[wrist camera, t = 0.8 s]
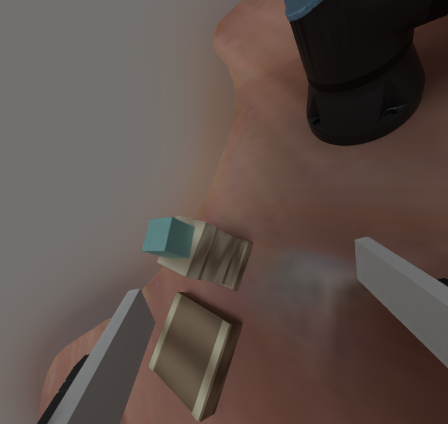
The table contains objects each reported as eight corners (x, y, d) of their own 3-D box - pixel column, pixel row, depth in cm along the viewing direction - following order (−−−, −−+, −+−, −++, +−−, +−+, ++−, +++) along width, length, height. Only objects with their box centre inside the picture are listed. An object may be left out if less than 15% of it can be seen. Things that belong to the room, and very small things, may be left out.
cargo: (173, 229, 30) (150, 219, 27) (194, 227, 28) (172, 216, 25) (167, 257, 28) (141, 250, 25) (189, 258, 26) (164, 250, 23)
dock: (189, 293, 39) (176, 291, 37) (242, 324, 32) (230, 324, 29) (163, 362, 37) (147, 365, 34) (214, 413, 29) (199, 422, 27)
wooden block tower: (221, 234, 40) (175, 211, 31) (253, 243, 36) (210, 219, 27) (206, 276, 38) (153, 264, 29) (237, 291, 34) (186, 282, 25)
